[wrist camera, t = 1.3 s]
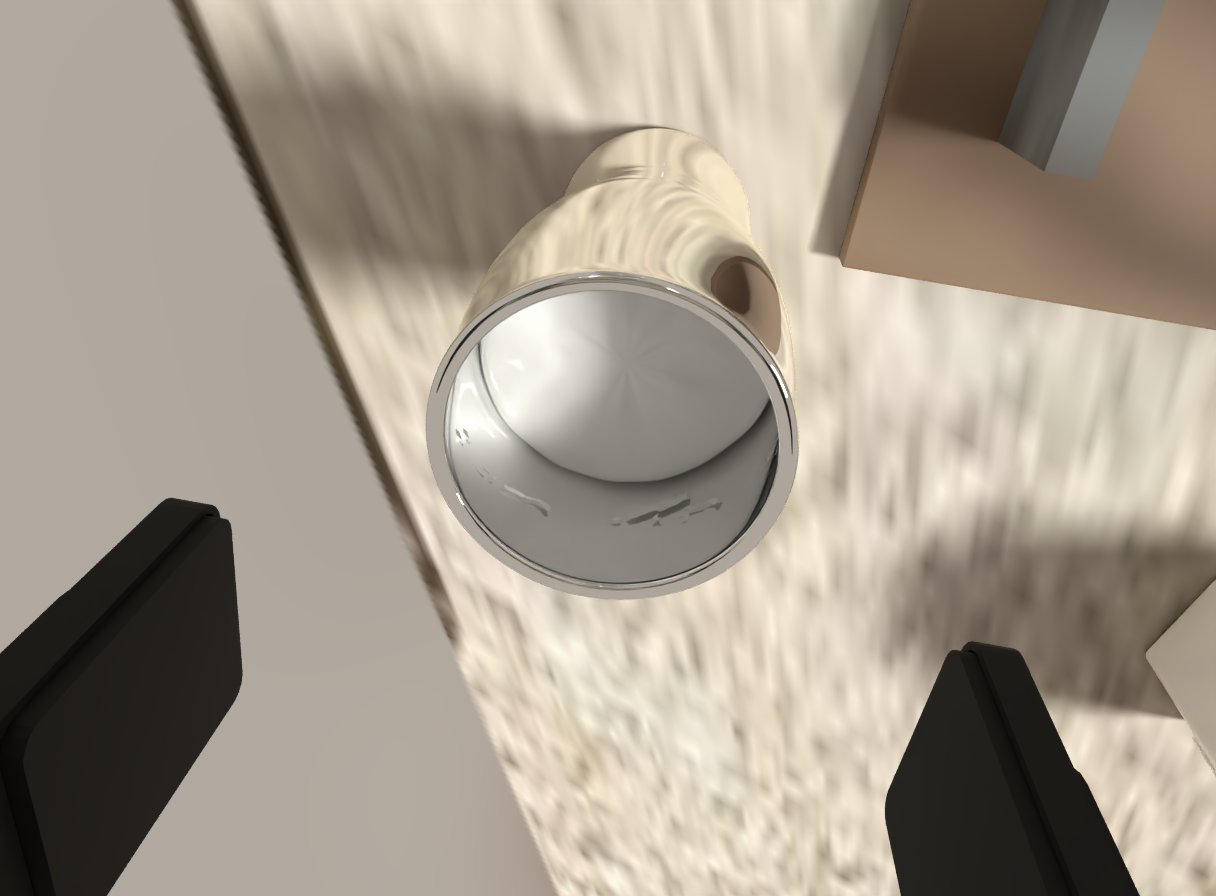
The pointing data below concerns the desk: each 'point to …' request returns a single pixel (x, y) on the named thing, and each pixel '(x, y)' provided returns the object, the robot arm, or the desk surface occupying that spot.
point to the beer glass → (623, 381)
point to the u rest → (1049, 155)
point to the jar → (1192, 669)
